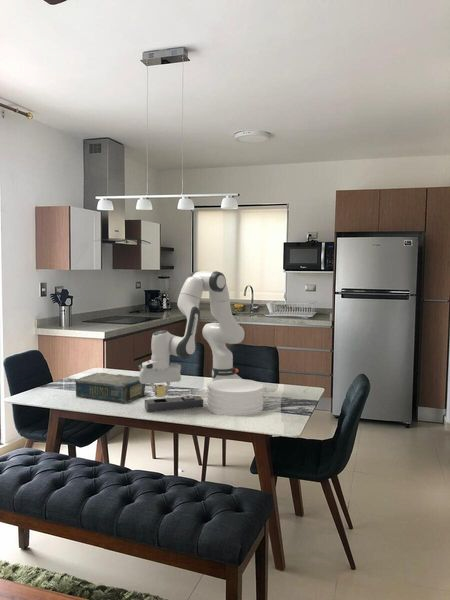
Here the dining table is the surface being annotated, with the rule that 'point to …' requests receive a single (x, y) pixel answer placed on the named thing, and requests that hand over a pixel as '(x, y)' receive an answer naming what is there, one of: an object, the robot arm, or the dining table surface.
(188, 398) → the grey knobbed square block
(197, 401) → the rail
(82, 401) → the dining table surface
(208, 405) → the plate stack
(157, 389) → the wooden cube with knob
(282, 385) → the dining table surface
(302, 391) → the dining table surface
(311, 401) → the dining table surface
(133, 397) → the metal box
